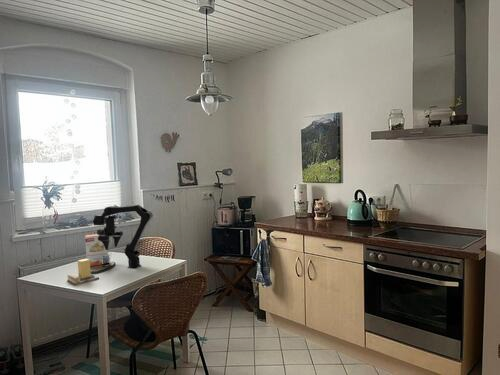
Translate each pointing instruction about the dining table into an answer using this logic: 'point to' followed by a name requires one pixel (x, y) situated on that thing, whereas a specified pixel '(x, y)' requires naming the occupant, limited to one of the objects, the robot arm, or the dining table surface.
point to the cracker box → (95, 250)
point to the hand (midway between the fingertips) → (111, 248)
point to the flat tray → (77, 280)
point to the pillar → (84, 268)
